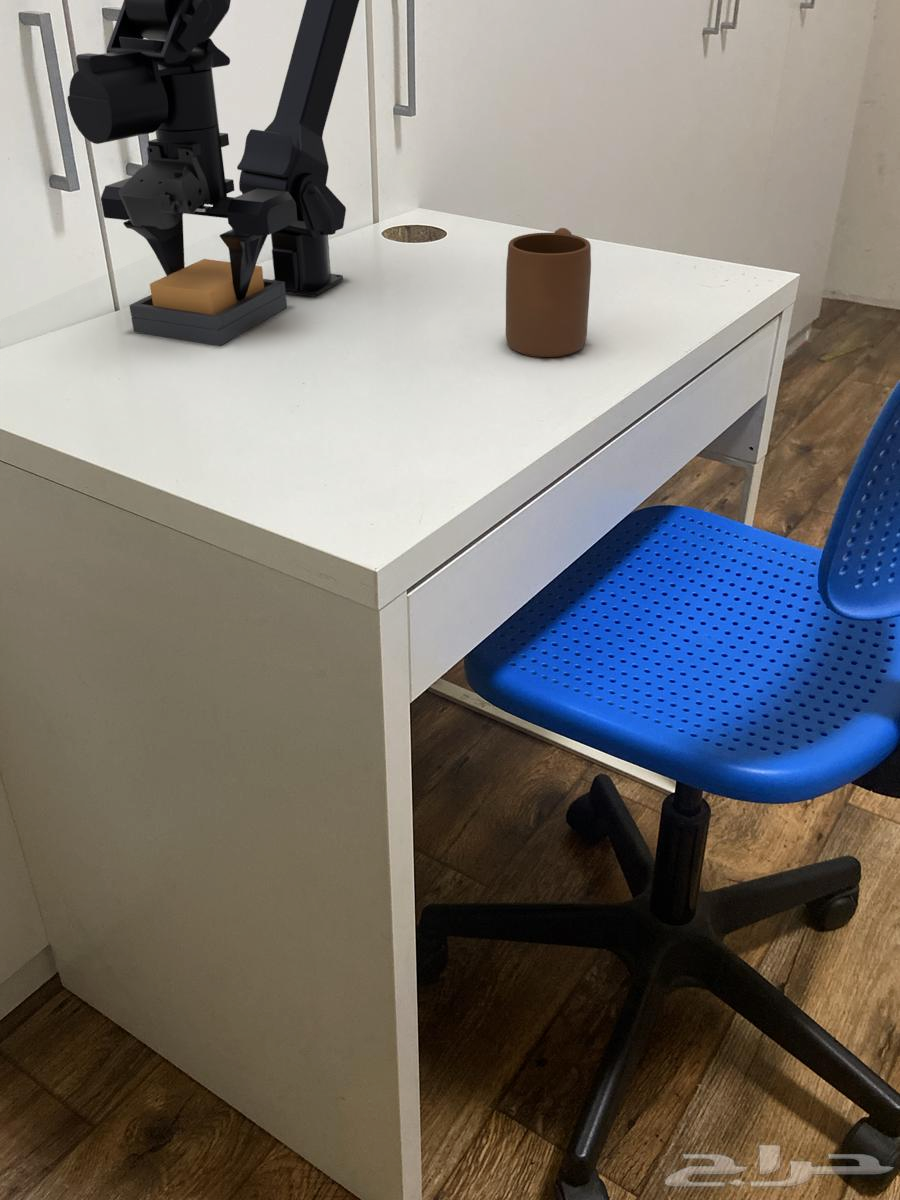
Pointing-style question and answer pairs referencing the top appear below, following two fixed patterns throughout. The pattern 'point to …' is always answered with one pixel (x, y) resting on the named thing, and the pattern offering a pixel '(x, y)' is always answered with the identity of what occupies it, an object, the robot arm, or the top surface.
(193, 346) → the top surface
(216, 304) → the foam pad
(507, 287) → the mug
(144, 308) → the dark gray tray
